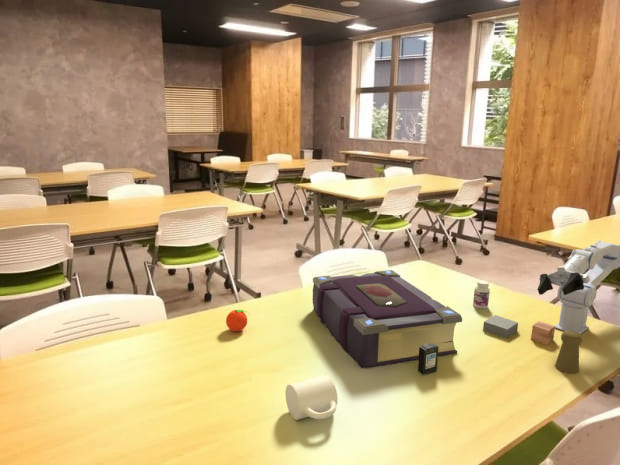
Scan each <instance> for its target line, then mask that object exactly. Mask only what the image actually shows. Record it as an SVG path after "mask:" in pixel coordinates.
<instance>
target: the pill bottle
mask: <svg viewBox="0 0 620 465" xmlns="http://www.w3.org/2000/svg"><path fill="white" fill-rule="evenodd" d="M476 284H477V285H476V286H475V287H474V292H473V302H472V306H474V307H475V308H477V309H487V308H488V307H489V301H490V294H491V293H490V292H491V291H490V290H491V289H490V288H489V286H490V283H489V281H485V280H477V283H476Z"/></svg>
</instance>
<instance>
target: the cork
mask: <svg viewBox="0 0 620 465" xmlns="http://www.w3.org/2000/svg"><path fill="white" fill-rule="evenodd" d="M560 339H561V345H560V349H559V352H558V353H557V354H558V355H557V358H556V361H555V364H554V366H555V369H557V370H558V371H560V372H562V373H566V374H569V375H572V374H573V375H574V374H575V375H577V374H579V372H580V346H581V345H582V343H583V336H582V334H579V333H577V332H575V331H563V332H562V333H561V335H560Z"/></svg>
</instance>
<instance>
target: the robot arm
mask: <svg viewBox="0 0 620 465" xmlns="http://www.w3.org/2000/svg"><path fill="white" fill-rule="evenodd" d="M618 268H620V244H616V243H611V242H606V241H601V240H597V241H596V242H594V244H590V246H588V247H585V248H583V249H580V248H577V249H573V250H572V252H571V253H570V256H569V257H568V259H567V261H566V262H565V263H564V264H563V265H562V266H558V267H557V268H556V271H553V272H550V273H549V274H548V273H541V274H540V275H539V278H538V280H539V284H538V287H537V292H538V295H541V296H542V295H544V294H545V293H547V292H548V291H551V290H554V287H553V285H555V286H557V287H558V289H557V298H558V299H559V300H560V303H561V309H560V316H559V322H558V323H556V324H555V325H554V326H555V329H557V330H560V331H563V332H564V331H575V332H577V333H579V334H580V335H583V333H584V332H586V331H587V330H588V329H589V328H590V326H588V325H587V319H588V315H589V307H591V306H592V305H593V303H594V301H595V299H596V297H597V286H598V285H599V284H601V282H602V281H603V280H604V279H605V278H607V277H608V276H609V275H610V273H611V272H612V271H614V270H616V269H618ZM587 270H588V271H587Z"/></svg>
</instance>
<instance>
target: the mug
mask: <svg viewBox="0 0 620 465" xmlns="http://www.w3.org/2000/svg"><path fill="white" fill-rule="evenodd" d="M285 402H286V405H287V406H286V407H287V409H288V412H289V414H290V416H291V417H292V419H294V420H297V421H299V420H301V419H305V418H311V419H315V420H323V419H327V418H329V417H331V416H332V415H334V413H335V412H336V411H337V405H338V391H337V388H336V385H335V383H334V381H333V379H332V378H331V377H330V376H329V375H327V374H324V375H319V376H317V377H316V376H315V377H312V378H309V379H308V378H307V379H304V380H300V381H297V382H294V383H289V384H287V385H286V387H285Z"/></svg>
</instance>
